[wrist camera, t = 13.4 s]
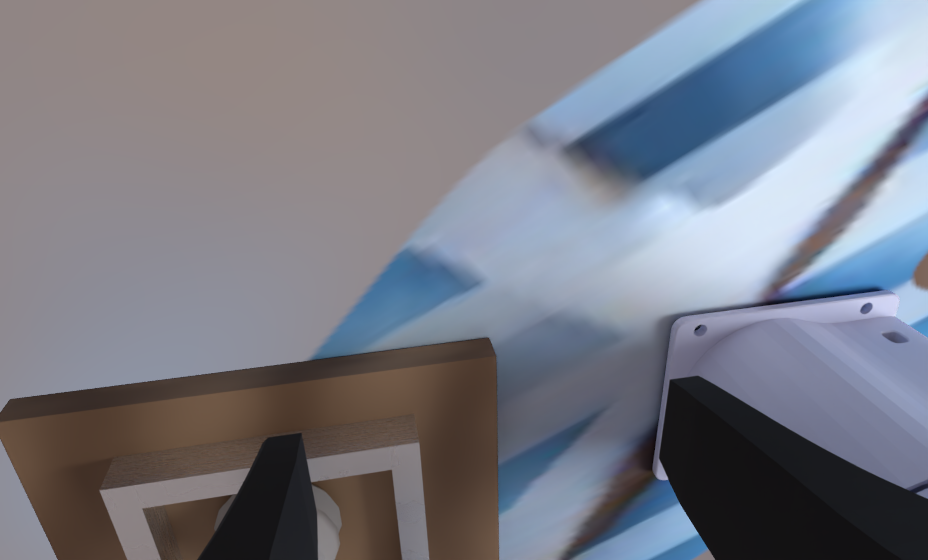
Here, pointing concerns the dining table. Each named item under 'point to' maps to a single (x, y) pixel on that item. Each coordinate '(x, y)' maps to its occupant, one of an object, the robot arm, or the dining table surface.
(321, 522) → the rook chess piece
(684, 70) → the dining table surface
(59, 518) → the collar board
